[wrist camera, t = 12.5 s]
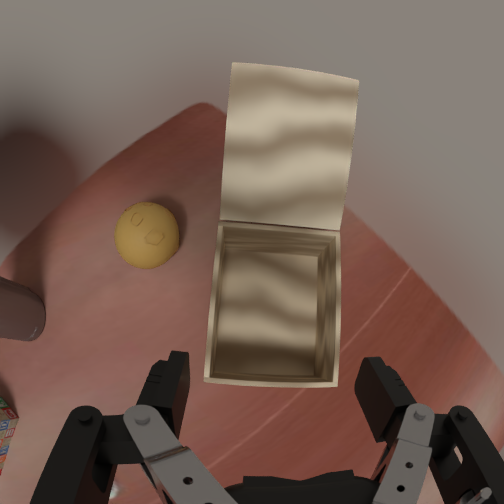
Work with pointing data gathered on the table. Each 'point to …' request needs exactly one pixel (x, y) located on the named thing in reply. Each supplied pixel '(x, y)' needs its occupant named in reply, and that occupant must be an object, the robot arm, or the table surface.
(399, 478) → the robot arm
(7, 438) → the stack of blocks
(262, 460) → the table surface
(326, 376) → the carton
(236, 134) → the lid flap
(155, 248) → the stress ball
